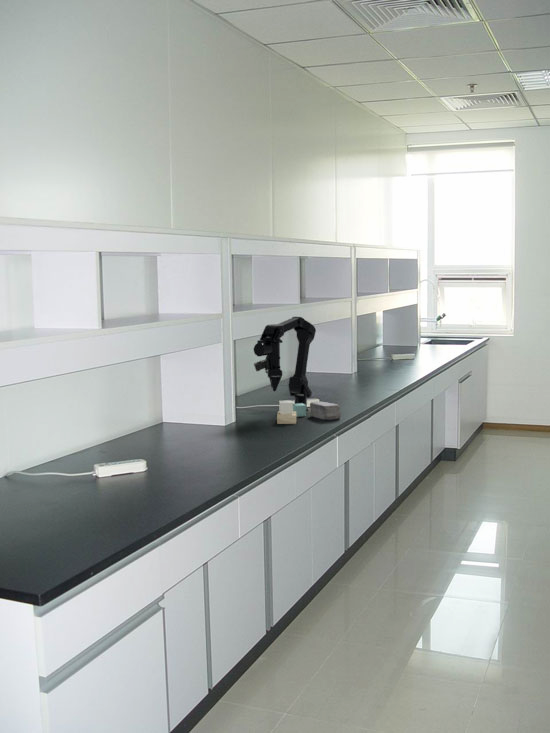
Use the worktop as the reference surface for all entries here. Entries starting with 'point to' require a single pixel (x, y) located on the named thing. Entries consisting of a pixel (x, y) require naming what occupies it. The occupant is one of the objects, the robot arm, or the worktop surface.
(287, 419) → the maple block
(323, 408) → the decorative stone
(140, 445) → the worktop surface
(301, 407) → the teal cube
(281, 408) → the cream cube
